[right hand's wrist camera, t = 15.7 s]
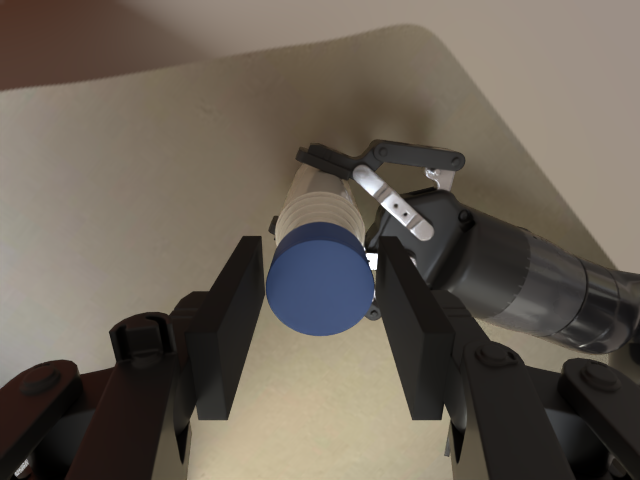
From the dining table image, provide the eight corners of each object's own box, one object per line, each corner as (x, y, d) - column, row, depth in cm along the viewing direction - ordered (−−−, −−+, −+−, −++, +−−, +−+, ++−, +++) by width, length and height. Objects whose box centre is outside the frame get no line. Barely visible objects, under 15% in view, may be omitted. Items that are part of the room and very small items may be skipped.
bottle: (284, 170, 30) (236, 252, 13) (335, 149, 29) (357, 204, 12) (305, 218, 31) (288, 350, 14) (354, 199, 31) (398, 313, 14)
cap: (328, 322, 15) (330, 353, 14) (254, 274, 15) (244, 300, 13) (386, 257, 14) (397, 281, 12) (310, 202, 14) (308, 217, 12)
